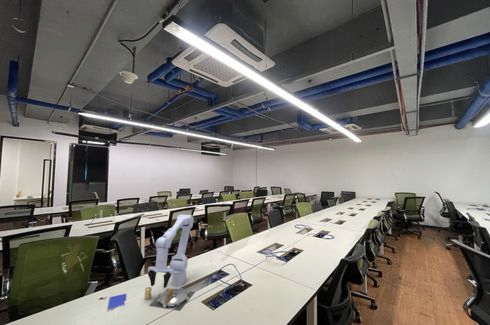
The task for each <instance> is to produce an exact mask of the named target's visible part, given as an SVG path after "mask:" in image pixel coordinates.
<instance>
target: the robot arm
mask: <svg viewBox="0 0 490 325" xmlns="http://www.w3.org/2000/svg"><path fill="white" fill-rule="evenodd" d="M194 220H195V219H194V215H193V214H178V215H177V216H176V221H175V223H174V224H173V225H172V227H170V228H168V229H167V230H166V232H164V234H163V235H162V236H160V237H159V238H157V239H156V240H155V244H154V245H155V250H156V258H155V259H156V260H155V266H149V267H147V272H148V273H147V275H148V278H149V282H150V287H153V286H155V284H156V278H157V274H158V273H164V274H163V289H167V288H168V284H169V281H170V278H171V287H173V288H181V287H182V286H183V285H184V283H185V282H186V281H187V268H188V260H189V259H188V257H187V256H186V254H185V253H186V250H187V247H188V241H189V236H190V232H191V229H192V228H193V225H194ZM180 228H181V229H182V231H181V234H180V239H179V243H178V247H177V252H176V254H175V255H173V256H172V258H171V261H170V263H169V267H167V263H168V254H169V248H170V247H171V245H172V242H173V239H175V237H176V236H177V231H179V229H180Z"/></svg>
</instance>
